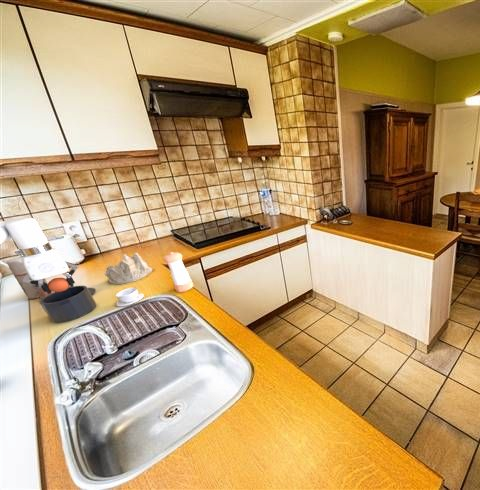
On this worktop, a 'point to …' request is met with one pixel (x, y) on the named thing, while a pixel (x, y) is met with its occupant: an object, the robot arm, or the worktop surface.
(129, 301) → the teacup
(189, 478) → the worktop surface
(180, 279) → the salt shaker
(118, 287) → the worktop surface
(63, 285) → the ball
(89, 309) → the pot
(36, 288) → the lighter
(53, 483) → the worktop surface
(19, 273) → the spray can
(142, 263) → the jagged rock
